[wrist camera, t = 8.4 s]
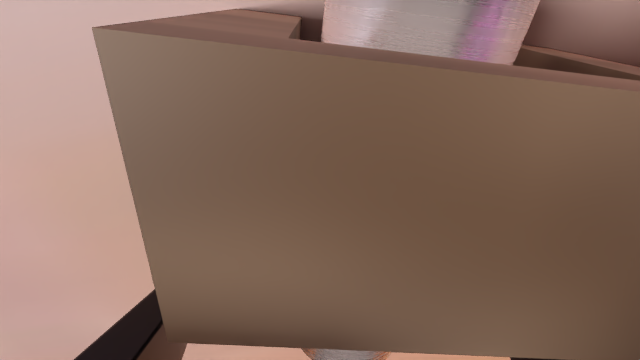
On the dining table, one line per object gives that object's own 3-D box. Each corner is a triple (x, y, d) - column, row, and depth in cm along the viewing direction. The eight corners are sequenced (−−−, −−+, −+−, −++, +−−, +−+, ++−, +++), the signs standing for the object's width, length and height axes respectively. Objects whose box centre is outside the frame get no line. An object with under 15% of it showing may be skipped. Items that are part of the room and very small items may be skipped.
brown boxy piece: (483, 191, 9) (634, 362, 5) (240, 170, 9) (168, 341, 4) (549, 48, 7) (912, 123, 3) (236, 8, 7) (91, 28, 2)
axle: (387, 281, 11) (406, 379, 8) (295, 270, 11) (282, 366, 8) (484, -2, 7) (601, -4, 4) (329, -24, 7) (326, -45, 4)
